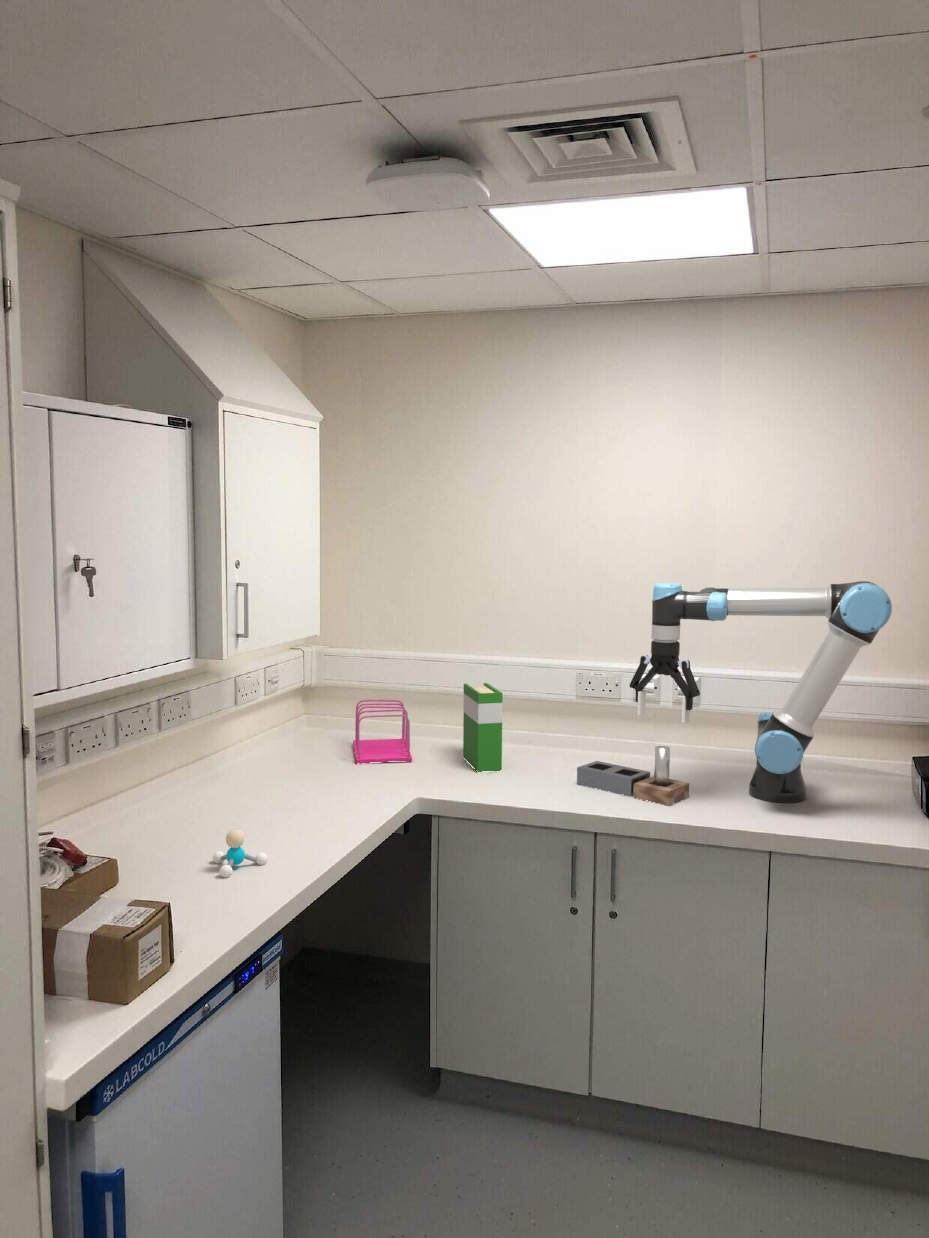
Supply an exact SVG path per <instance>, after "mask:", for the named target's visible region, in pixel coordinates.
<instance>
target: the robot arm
mask: <svg viewBox="0 0 929 1238" xmlns="http://www.w3.org/2000/svg"><path fill="white" fill-rule="evenodd" d="M651 605H652V606H651V607H652V608H651V613H652V615H651V634H650V635H651V637H650V638H651V639H652V641H651V643H650V646H651V647H650V653H651V656H649V655H642V656H641V657H640V659H639V660H640V661H639V665H638V667H637V669H636V671H635V673H634V675H633V677H632V679H631V680H630V683H629V688H631V689H632V688H633V689H634V690H635V703H637V715H638V716H642V715H645V714H646V697H647V696H646V692H647V691H646V690H645V688H646V686H647V685H648V684H649V683H650V682H651V681H652V680H653V678H654V677H655V676H656V675H663V676H670V677H671V679H673V680H674V682H675V683H676V685H677V687H678V689H680V692H681V693H682V694H683V695H684V697H683V698H682V704H681V723H684V724H685V723H688V722H690V714H691V713H690V711H691V710H693V707H694V706H693V705H694V698H696V697H699V696H701V692H700V689H699V687H698V685H697V681H696V680H695V677H694V674H693V672H692V669H691V661H690V660H689V659H687V660H680V658H679V656H680V652H681V651H680V647H681V645H680V641H679V640H680V638H681V620H693V621H694V620H695V621H696V620H698V621H711V622H715V621H717V622H719V621H720V622H721V621H722V622H723V621H725V620H727V616H744V617H747V616H748V617H749V616H750V617H753V616H757V617H758V616H759V617H761V616H763V617H764V616H766V617H767V616H769V617H771V616H772V617H774V616H775V617H778V616H779V617H780V616H781V617H825V618H827V619H828V620H827V625H828V628H829V630H828V632H827V634H826V636H825V637H824V639H823V640H822V643H821V644H820V646H819V647H818V649H817V651H816V653H815V654H814V656H813V657H812V659H811V661H810V663H809V664H808V666H807V667H806V669H805V671H804V673H803V674H802V675H801V678H800V680H799V681H798V683H797V684H796V686H795V687H794V689H793V691H792V692H791V694H790V696H789V697H788V699H787V701H786V702H785V704H784V706H783V708H782V709H779V710H776V711H773V712H771V711H770V712H769V711H767V712H766V711H765V712H764V711H763V712H761V713H759V714H758V720H757V738H756V742H755V744H754V753H755V757H756V766H755V769H754V771H753V774H752V776H751V779H750V782H749V785H748V794H749V795H750V796H752V797H754V798H756V799H760V800H764V801H768V802H774V803H798V802H803V801H804V800H806V799H807V787H806V784H805V781H804V776H803V774H802V769H801V767H802V766H801V765H802V762H803V759H804V753H805V752H806V750H807V748H808V747H809V745H810V743H811V742H812V740H813V739H814V737H815V732H814V725H815V723H816V722H817V720H818V718H820V717H819V716H821V714H822V712H823V711H824V708H825V707H826V705H827V704H828V702H829V701H830V698H832V696H833V694H834V692H835V691H836V689H837V687H838V685H840V682H842V680H843V678H844V676H845V674H846V673H847V672H848V670H849V668H850V666H851V665H852V663H853V661H854V659H855V658H856V657H857V656H858V653H859V652H860V650H861V648H864V647H867V646H870V645H872V642H873V641H874V639H875V638H876V636H877V635H878V633H879V631H880V630H881V629H883V628H884V626H886V624H887V623H888V622H889V621H890V620H889V619H890V618H891V616H892V610H893V608H892V601H891V598H890V596H889V595H888V593H887V592H886V591H885V589H883V588H881V587H880V586H878V585H877V584H876V583H873V582H871V581H866V580H861V581H854V582H845V583H844V582H843V583H829V584H828V585H827V586H826V587H761V588H760V587H757V588H756V587H752V588H751V587H743V588H741V587H740V588H739V587H738V588H737V587H733V588H731V587H730V588H716V587H714V586H713V587H704V588H702V589H701V590H699V591H688V590H687V591H686V590H683V588H682V584H681V583H678V582H677V583H676V582H675V583H674V582H658V583H655V584H654V585H653V591H652V601H651ZM649 664H650V665H651V666H652V667H651V668H650V669H649V670H648V671H647V674H645V671H646V669H647V668H648V666H649ZM679 668H680V669H681V671H682V673H681V671H680V670H679ZM644 674H645V676H644V677H643V675H644ZM682 674H683V676H682ZM642 677H643V678H642ZM683 677H684V678H683Z"/></svg>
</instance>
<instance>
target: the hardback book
mask: <svg viewBox="0 0 929 1238" xmlns="http://www.w3.org/2000/svg"><path fill="white" fill-rule="evenodd" d="M462 718H463V720H462V721H463V722H462V723H463V725H462V726H463V729H462V730H463V732H462V733H463V736H462V739H463V741H462V742H463V743H462V744H463V745H462V749H463V750H462V758H463V757H464V758H465V759H466V760H467V761H468V762H469V763H470V764H471V765H472V766H473V767H474V768H475V769H476V770H477V771H478V772H482V771H500V770H502V769H503V765H502V764H503V763H502V762H503V759H502V758H503V691H502V692H501V691H500V690H499V689H498V688H495V687H494V686H492V685H491V684H489V682H483V684H482V685H469V684H468V683H463V717H462Z"/></svg>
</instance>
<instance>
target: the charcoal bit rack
mask: <svg viewBox="0 0 929 1238" xmlns="http://www.w3.org/2000/svg"><path fill="white" fill-rule="evenodd" d="M576 773H577V774H576V785H578V786H582V785H584V786H583V787H586V786H587V787H586V788H590V787H591V789H595V788H597V789H596V790H599V789H601V790H600V791H603V790H604V792H608V791H610V792H609V793H612V792H613V793H614V794H616V795H617V794H618V795H621V794H624V795H623V796H625V795H627V796H626V797H629V798H630V797H631V796H632V797H633V786H634V783H637V782H639V781H642V780H644V779H647V778H650V777H651V771H647V770H643V769H640V768H639V769H638V768H633V767H630V766H624V765H619V764H614V763H609V762H606V761H605V762H604V761H599V760H595V761H592V762H588V763H586V764H583V765H581V766H577V767H576ZM613 793H612V794H613ZM632 797H631V798H632Z"/></svg>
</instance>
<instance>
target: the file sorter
mask: <svg viewBox="0 0 929 1238" xmlns="http://www.w3.org/2000/svg"><path fill="white" fill-rule="evenodd" d="M364 702H366V703H364ZM368 702H371V703H368ZM372 702H374V703H372ZM378 702H379V703H378ZM382 702H383V703H382ZM384 702H385V703H384ZM388 702H389V703H388ZM391 702H392V703H391ZM364 709H369V710H364ZM370 709H371V710H370ZM387 712H389V713H390V712H402V714H378V715H377V714H376V715H375V714H373V715H372V714H371V715H364V716H361V715H362V714H364V713H387ZM360 716H361V717H360ZM388 717H389V718H390V717H392V718H393V717H402V723H401V724H402V725H401V738H382V739H381V738H380V739H360V738H361V737H360V724H361V721H362V720H363V719H367V718H388ZM410 725H411V723H410V719H409V713H408V710H407V709H406V708H405V706H404V703H403V702H402V701H401V700H398V699H361V700H359V701H358V702H357V703H356V706H355V733H354V735H355V736H354V737H355V740H353V741H352V743H353V744H352V746H354V747H353V753H354V752H355V753H354V759H356V760H355V764H356V763H370V762H388V761H412V762H413V755H412V754H411V750H410V749H411V743H410V741H411V733H410V732H411V731H410V730H411V729H410V727H411V726H410Z"/></svg>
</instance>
